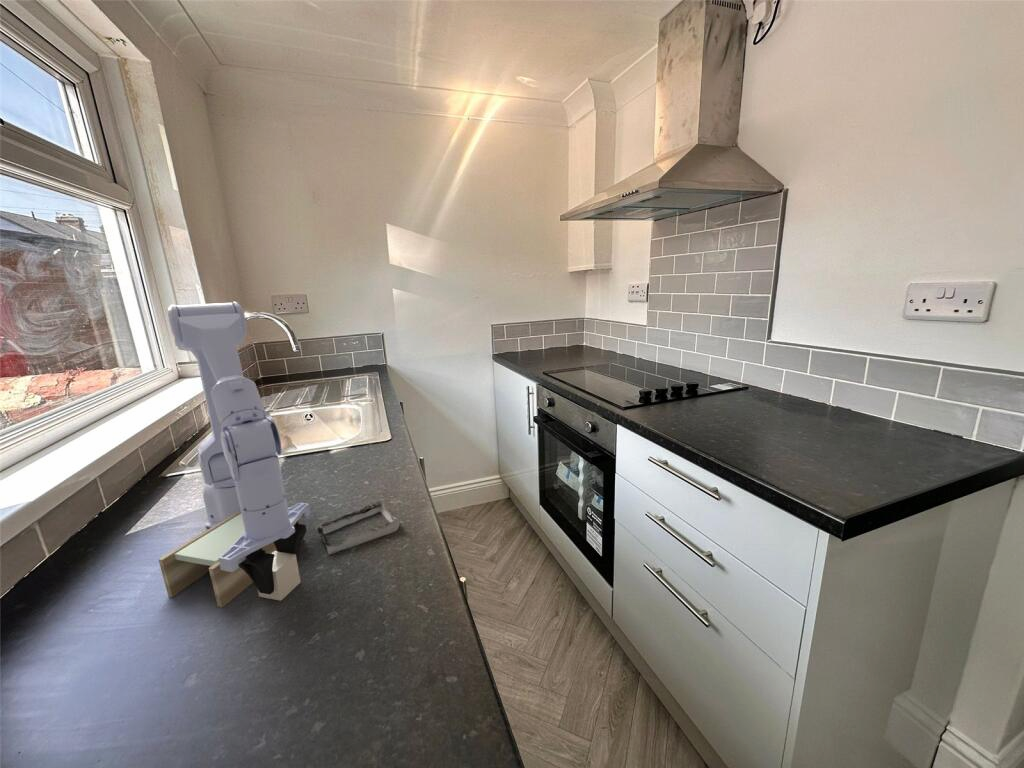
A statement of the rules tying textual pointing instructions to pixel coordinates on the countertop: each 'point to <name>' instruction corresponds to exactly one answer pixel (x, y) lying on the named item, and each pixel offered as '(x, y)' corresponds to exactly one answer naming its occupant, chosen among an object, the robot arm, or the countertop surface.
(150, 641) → the countertop surface
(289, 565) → the beige cube
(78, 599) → the countertop surface
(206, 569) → the trapdoor frame
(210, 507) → the robot arm
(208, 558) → the trapdoor
